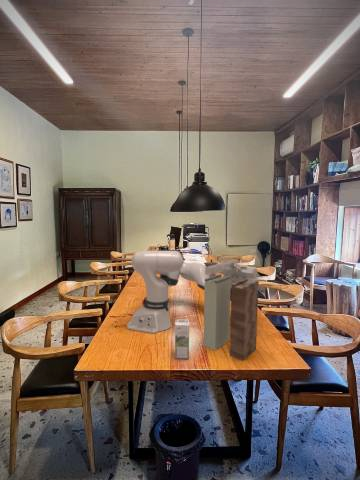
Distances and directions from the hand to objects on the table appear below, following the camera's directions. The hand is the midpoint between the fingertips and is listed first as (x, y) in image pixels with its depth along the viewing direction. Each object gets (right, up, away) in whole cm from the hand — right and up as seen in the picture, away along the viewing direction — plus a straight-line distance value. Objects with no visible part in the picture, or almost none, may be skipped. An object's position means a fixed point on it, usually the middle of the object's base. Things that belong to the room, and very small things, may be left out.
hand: (229, 264), depth 128 cm
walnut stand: (+4, -36, -12) cm, 38 cm away
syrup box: (-22, -36, -15) cm, 45 cm away
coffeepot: (+5, -24, +109) cm, 111 cm away
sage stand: (-7, -35, -4) cm, 36 cm away
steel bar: (-4, -2, -5) cm, 7 cm away
